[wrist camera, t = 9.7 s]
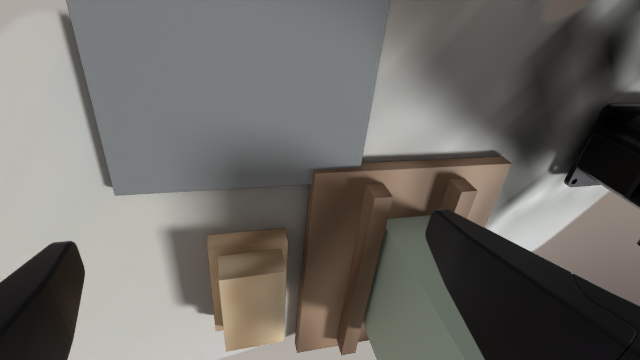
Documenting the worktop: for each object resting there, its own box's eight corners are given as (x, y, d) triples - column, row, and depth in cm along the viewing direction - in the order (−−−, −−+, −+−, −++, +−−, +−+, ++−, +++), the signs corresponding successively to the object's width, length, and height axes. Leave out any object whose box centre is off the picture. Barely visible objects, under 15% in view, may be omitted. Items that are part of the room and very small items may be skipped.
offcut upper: (281, 248, 24) (286, 271, 22) (279, 317, 28) (284, 341, 26) (217, 256, 23) (218, 280, 21) (225, 326, 27) (226, 351, 25)
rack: (502, 156, 26) (527, 175, 24) (436, 318, 36) (449, 341, 34) (311, 165, 23) (321, 187, 21) (294, 342, 32) (300, 369, 30)
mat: (391, -37, 18) (396, -36, 17) (355, 176, 24) (358, 181, 23) (53, -72, 14) (48, -73, 14) (117, 189, 20) (114, 195, 20)
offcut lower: (283, 222, 25) (288, 241, 24) (279, 299, 30) (283, 320, 28) (207, 229, 24) (207, 250, 23) (215, 308, 28) (215, 331, 27)
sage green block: (432, 215, 26) (563, 379, 17) (402, 307, 32) (488, 471, 22) (380, 219, 25) (487, 397, 16) (359, 313, 31) (428, 490, 21)
